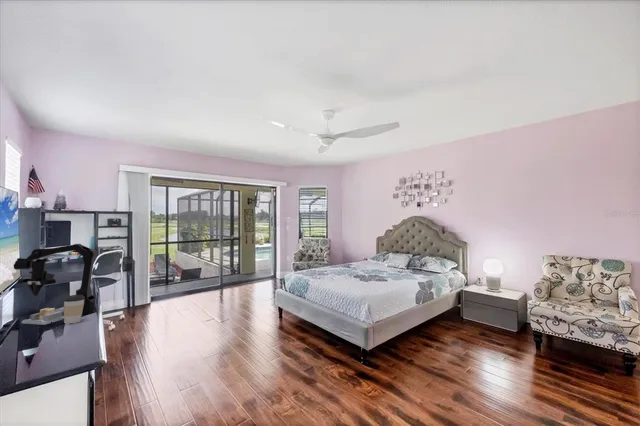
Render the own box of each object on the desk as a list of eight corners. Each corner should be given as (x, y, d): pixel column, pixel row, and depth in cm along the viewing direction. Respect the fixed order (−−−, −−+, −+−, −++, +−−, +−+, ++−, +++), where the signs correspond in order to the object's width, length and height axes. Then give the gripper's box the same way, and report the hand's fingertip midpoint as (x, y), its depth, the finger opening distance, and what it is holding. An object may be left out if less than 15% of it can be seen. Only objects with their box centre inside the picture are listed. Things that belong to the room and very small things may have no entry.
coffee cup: (58, 322, 155) (61, 295, 156) (78, 318, 163) (80, 292, 164) (65, 325, 151) (68, 297, 152) (86, 321, 159) (88, 294, 160)
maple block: (53, 318, 159) (54, 308, 159) (47, 320, 155) (48, 310, 156) (45, 317, 159) (46, 307, 160) (39, 319, 156) (40, 309, 156)
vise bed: (64, 318, 162) (65, 310, 163) (45, 324, 151) (46, 316, 152) (42, 317, 163) (43, 309, 163) (21, 323, 152) (22, 315, 152)
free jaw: (49, 316, 161) (50, 311, 162) (34, 320, 153) (35, 315, 154) (42, 315, 162) (43, 310, 162) (27, 320, 154) (28, 314, 154)
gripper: (65, 268, 174) (63, 293, 173) (38, 267, 176) (35, 292, 174) (47, 270, 163) (44, 297, 162) (18, 269, 164) (15, 296, 163)
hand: (35, 295), depth 166 cm, fingers closed
